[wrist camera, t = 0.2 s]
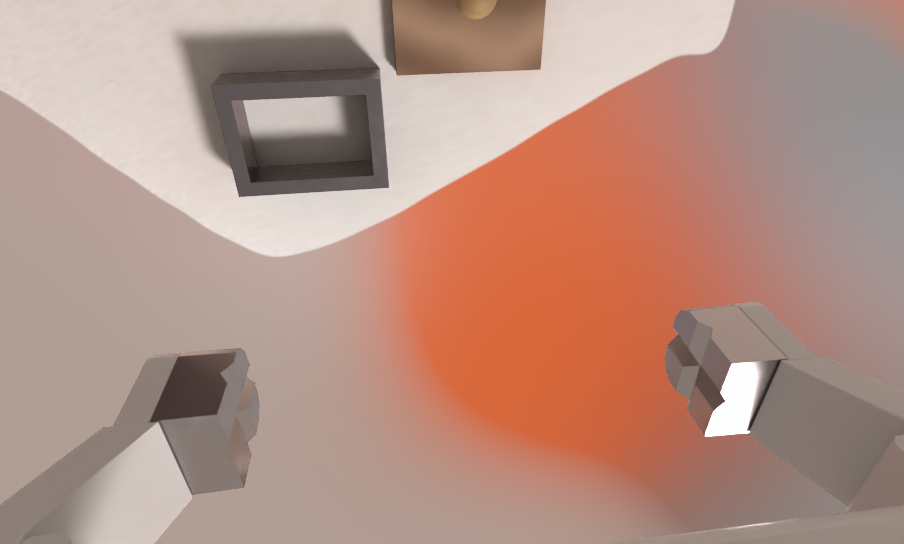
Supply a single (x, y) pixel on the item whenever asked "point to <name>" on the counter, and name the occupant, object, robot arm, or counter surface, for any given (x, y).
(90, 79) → the counter surface
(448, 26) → the keeper
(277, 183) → the grey open tray
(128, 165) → the counter surface
